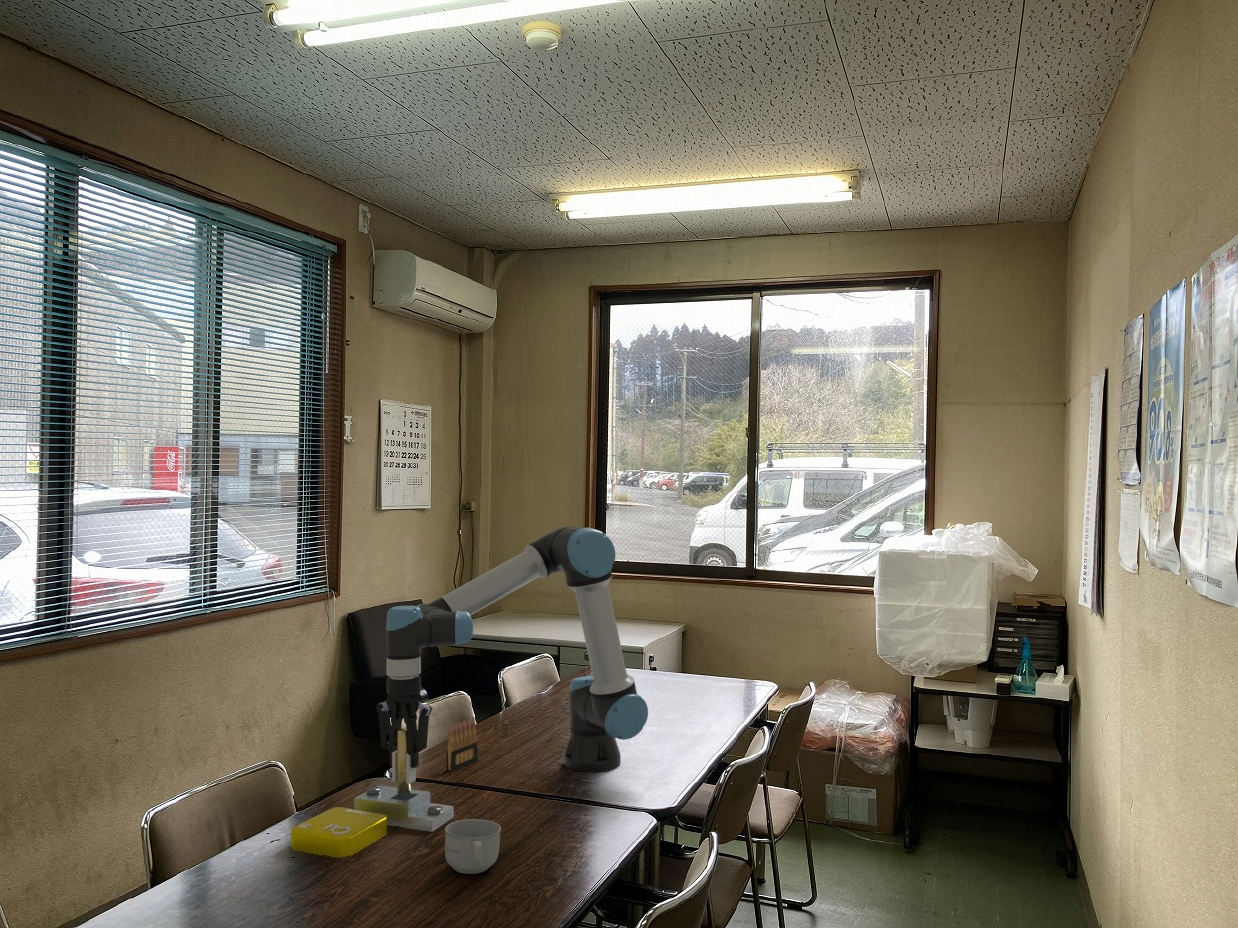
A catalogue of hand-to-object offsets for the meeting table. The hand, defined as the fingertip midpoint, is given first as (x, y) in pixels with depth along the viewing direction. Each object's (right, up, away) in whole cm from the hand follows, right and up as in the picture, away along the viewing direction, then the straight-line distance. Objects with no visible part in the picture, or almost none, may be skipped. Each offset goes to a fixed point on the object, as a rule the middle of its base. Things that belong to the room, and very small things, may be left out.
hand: (404, 780), depth 205 cm
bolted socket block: (0, -9, 0) cm, 9 cm away
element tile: (-11, -9, -12) cm, 19 cm away
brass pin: (0, -3, 0) cm, 3 cm away
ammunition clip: (+7, -9, +38) cm, 40 cm away
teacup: (+20, -8, -28) cm, 35 cm away
